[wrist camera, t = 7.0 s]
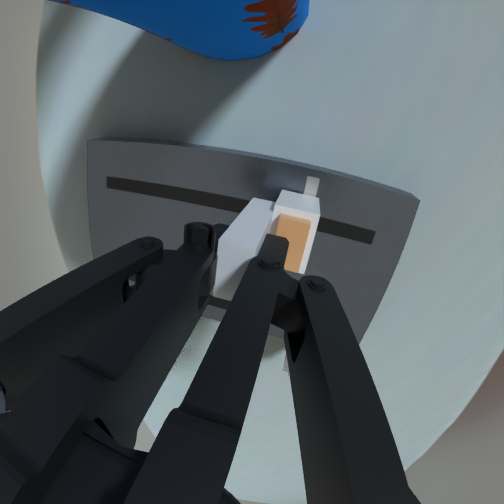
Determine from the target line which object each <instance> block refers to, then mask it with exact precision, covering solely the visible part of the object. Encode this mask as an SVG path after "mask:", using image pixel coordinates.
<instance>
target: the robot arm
mask: <svg viewBox="0 0 504 504" xmlns="http://www.w3.org/2000/svg"><path fill="white" fill-rule="evenodd" d="M275 203H276V202H272V201H268V200H263V199H258V198H253V199H252V200H251V201H250V202H249V203H248V205H247V206H246V207H245V208H244V209H243V211H242V212H241V213H240V214H239V215H238V217H237V218H236V219H235V220H234V221H233V223H232V224H231V225H230V226H229V225H225V224H220V223H218V224H215V225H211V224H208V223H204V222H191V223H187V224H185V225H184V242H183V244H182V245H181V246H180V247H179V248H178V249H177V250H169V249H163V242H162V240H160V239H158V238H155V237H150V236H146V237H141V238H138V239H136V240H133V241H131V242H129V243H127V244H125V245H123V246H121V247H119V248H117V249H115V250H112V251H110V252H108V253H106V254H104V255H102V256H100V257H98V258H96V259H94V260H92V261H90V262H88V263H86V264H84V265H82V266H80V267H79V268H77V269H75V270H73V271H71V272H69V273H67V274H65V275H63V276H61V277H60V278H58V279H56V280H54V281H52V282H51V283H49V284H47V285H45V286H43V287H41V288H39V289H38V290H36V291H34V292H32V293H31V294H29V295H27V296H26V297H24V298H22V299H20V300H18V301H17V302H15V303H13V304H12V305H10V306H8V307H7V308H5V309H3V310H2V311H0V504H240V502H239V501H238V500H237V499H236V498H235V497H234V496H233V495H232V494H231V493H230V492H228V491H227V490H226V489H225V488H224V485H225V482H226V479H227V476H228V473H229V470H230V467H231V464H232V460H233V457H234V454H235V451H236V447H237V444H238V441H239V437H240V434H241V430H242V426H243V423H244V419H245V416H246V413H247V409H248V406H249V402H250V399H251V395H252V391H253V388H254V384H255V381H256V377H257V373H258V370H259V366H260V362H261V359H262V355H263V351H264V347H265V343H266V339H267V336H268V332H269V328H270V324H273V325H275V326H277V327H279V328H281V329H283V330H284V342H285V348H286V355H287V361H288V368H289V374H290V381H291V387H292V394H293V401H294V408H295V415H296V422H297V429H298V436H299V443H300V451H301V458H302V466H303V474H304V481H305V489H306V498H307V504H421V503H420V502H419V500H418V499H417V498H416V496H415V495H414V494H413V492H412V491H411V490H410V488H409V487H408V484H407V480H406V476H405V473H404V469H403V466H402V463H401V459H400V456H399V453H398V450H397V447H396V444H395V441H394V438H393V435H392V432H391V429H390V426H389V423H388V420H387V417H386V414H385V411H384V409H383V406H382V403H381V400H380V398H379V395H378V392H377V390H376V387H375V384H374V382H373V379H372V376H371V374H370V371H369V369H368V366H367V364H366V361H365V359H364V356H363V354H362V351H361V349H360V346H359V344H358V342H357V339H356V337H355V334H354V332H353V330H352V327H351V325H350V323H349V320H348V318H347V316H346V314H345V311H344V309H343V307H342V305H341V302H340V300H339V298H338V296H337V293H336V291H335V289H334V287H333V285H332V284H331V283H330V282H329V281H327V280H326V279H325V278H323V277H320V276H315V275H306V276H303V277H302V278H301V279H300V280H296V279H294V278H292V277H291V276H289V275H288V274H287V273H286V272H285V269H284V265H285V260H286V256H287V251H288V247H289V241H288V240H287V238H285V237H281V236H277V235H272V234H269V232H270V227H271V222H272V217H273V211H274V206H275ZM132 275H134V280H135V284H134V285H133V286H129V279H128V278H129V277H131V276H132ZM213 287H214V289H213ZM212 289H213V296H214V297H217V298H221V299H225V300H229V301H231V302H230V304H229V306H228V308H227V310H226V312H225V315H224V317H223V319H222V321H221V323H220V325H219V327H218V329H217V331H216V333H215V335H214V337H213V339H212V342H211V344H210V346H209V348H208V350H207V352H206V354H205V356H204V358H203V360H202V362H201V364H200V366H199V368H198V371H197V373H196V375H195V377H194V379H193V381H192V383H191V385H190V387H189V389H188V391H187V393H186V395H185V397H184V400H183V402H182V403H181V405H180V406H179V407H178V408H174V409H173V410H172V411H171V412H170V413H169V415H168V416H167V418H166V420H165V422H164V424H163V426H162V428H161V430H160V431H159V433H158V435H157V437H156V439H155V442H154V443H153V445H152V447H151V449H150V451H149V452H144V451H139V450H134V446H135V443H136V437H137V436H136V435H137V430H138V428H139V425H140V423H141V422H142V420H143V418H144V416H145V415H146V413H147V411H148V409H149V407H150V406H151V404H152V402H153V400H154V398H155V397H156V395H157V393H158V391H159V389H160V388H161V386H162V384H163V382H164V381H165V379H166V377H167V375H168V373H169V372H170V370H171V368H172V366H173V365H174V363H175V361H176V359H177V358H178V356H179V354H180V352H181V350H182V349H183V347H184V345H185V343H186V342H187V340H188V338H189V336H190V335H191V333H192V331H193V329H194V328H195V326H196V324H197V322H198V321H199V319H200V317H201V315H202V314H203V312H204V310H205V309H206V307H207V305H208V303H209V300H210V292H211V290H212ZM10 410H11V411H10ZM7 411H10V412H7Z"/></svg>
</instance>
